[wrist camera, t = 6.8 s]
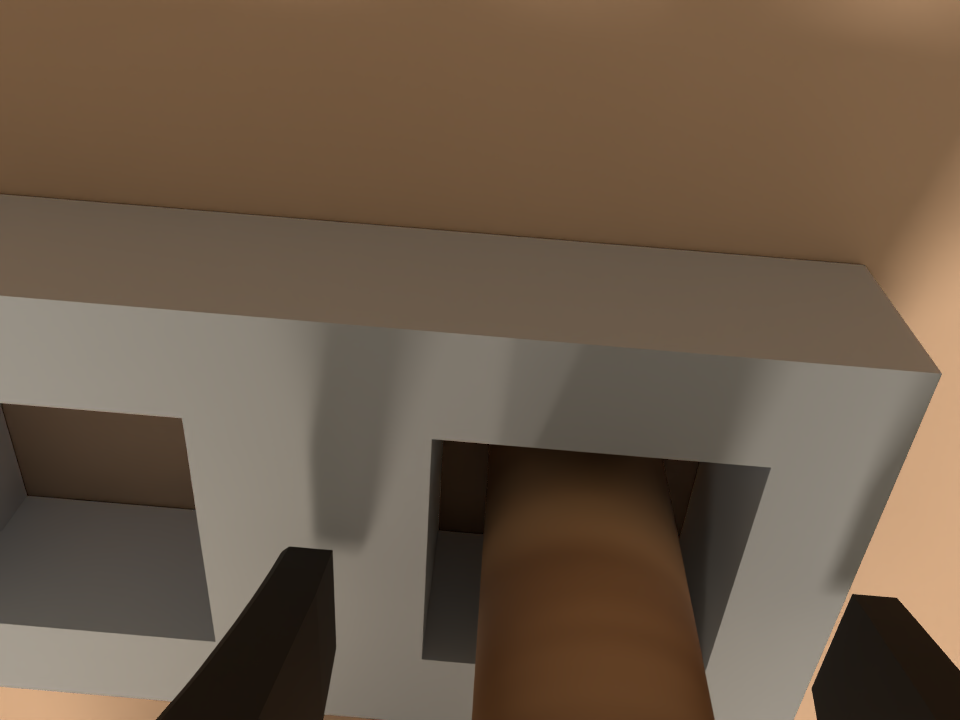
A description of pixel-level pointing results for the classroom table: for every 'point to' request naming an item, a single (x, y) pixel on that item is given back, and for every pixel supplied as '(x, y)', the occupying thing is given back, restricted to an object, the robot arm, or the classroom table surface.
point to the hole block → (429, 435)
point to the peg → (583, 593)
